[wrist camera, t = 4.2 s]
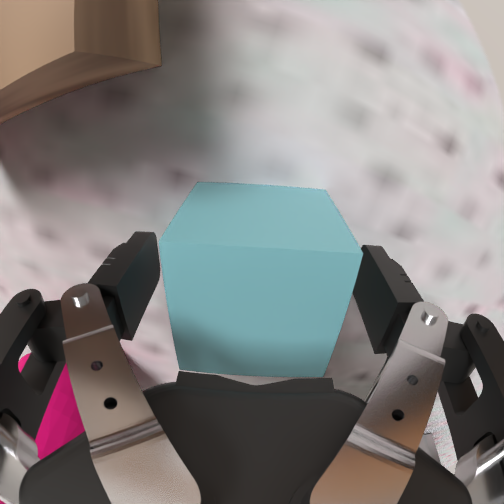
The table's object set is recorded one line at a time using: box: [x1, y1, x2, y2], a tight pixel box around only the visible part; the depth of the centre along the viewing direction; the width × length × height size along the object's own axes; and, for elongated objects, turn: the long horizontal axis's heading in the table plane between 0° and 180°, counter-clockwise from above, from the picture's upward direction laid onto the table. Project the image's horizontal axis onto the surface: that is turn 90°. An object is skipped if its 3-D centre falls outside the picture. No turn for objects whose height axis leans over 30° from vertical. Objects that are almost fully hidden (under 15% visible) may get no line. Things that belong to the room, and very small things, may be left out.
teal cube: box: [159, 182, 363, 377], centre depth 10 cm, size 5×5×5 cm
